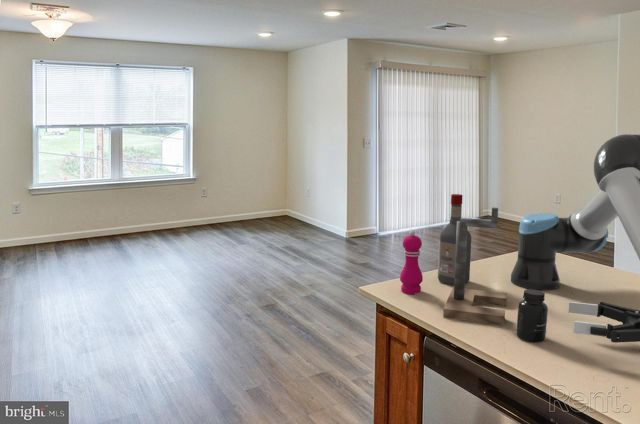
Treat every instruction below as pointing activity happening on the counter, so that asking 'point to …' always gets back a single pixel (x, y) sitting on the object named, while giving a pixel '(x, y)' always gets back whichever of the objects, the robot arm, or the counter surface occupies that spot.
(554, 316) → the counter surface
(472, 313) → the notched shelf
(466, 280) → the liquor
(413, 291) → the pepper mill
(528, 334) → the supplement bottle
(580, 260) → the counter surface
